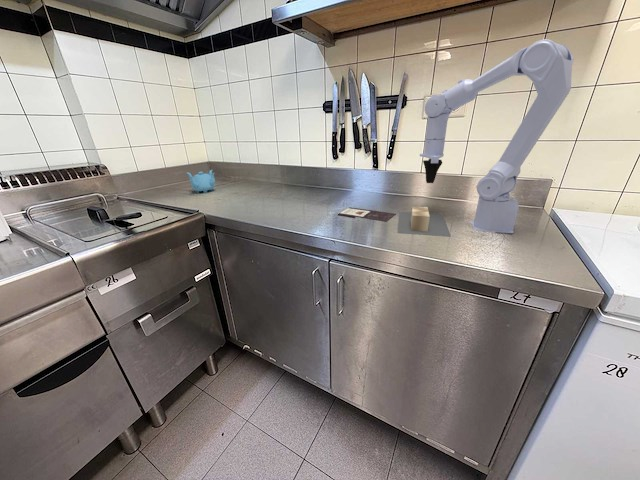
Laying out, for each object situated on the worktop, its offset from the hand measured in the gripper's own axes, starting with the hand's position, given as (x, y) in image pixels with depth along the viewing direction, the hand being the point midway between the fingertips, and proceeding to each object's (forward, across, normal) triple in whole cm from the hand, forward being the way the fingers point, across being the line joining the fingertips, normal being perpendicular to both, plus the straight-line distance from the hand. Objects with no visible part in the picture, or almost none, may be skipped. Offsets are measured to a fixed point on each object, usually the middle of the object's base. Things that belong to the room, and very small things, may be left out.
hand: (429, 182), depth 89 cm
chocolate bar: (+11, +6, -20) cm, 24 cm away
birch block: (+8, +10, -3) cm, 13 cm away
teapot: (+11, -20, -108) cm, 110 cm away
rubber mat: (+10, +12, -2) cm, 16 cm away
